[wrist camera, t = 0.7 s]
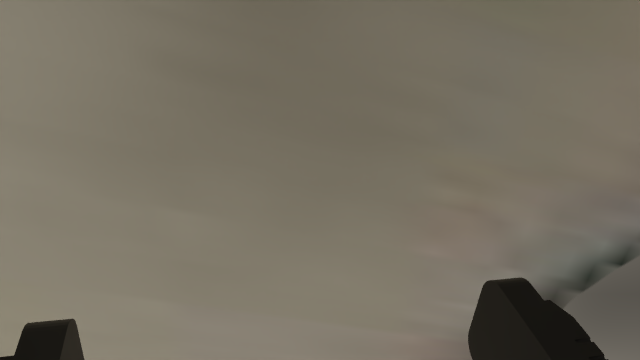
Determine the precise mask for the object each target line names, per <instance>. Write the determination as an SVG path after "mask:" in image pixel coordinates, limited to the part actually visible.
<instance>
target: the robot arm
mask: <svg viewBox="0 0 640 360" xmlns="http://www.w3.org/2000/svg"><path fill="white" fill-rule="evenodd" d="M468 343H469V349H470V353H471V357H472V359H473V360H606V359H605V358H604V354H603V353H602V352H601V350H600V349H599V348H598V347H597V345H596V344H595V343H594V342H591V341H590V337H589V336H588V334H587V333H586V332H585V331H584V330H583V328H582V327H581V326H580V325H579V323H578V322H577V321H576V320H575V319H574V317H572V316H571V315H570V314H568V313H567V312H566V311H564V310H563V309H561V308H560V307H559V306H557V305H556V304H555V303H553V302H552V301H550V300H546V301H544V300H543V299H542V298H541V296H540V295H539V294H538V293H537V291H536V290H535V289H534V287H533V286H532V285H531V284H530V283H529V281H527V280H526V279H524V278H511V279H501V280H490V281H487V282H486V283H485V284H484V285H483V288H482V291H481V294H480V297H479V300H478V304H477V307H476V310H475V313H474V316H473V320H472V323H471V326H470V329H469V334H468ZM0 360H84V356H83V352H82V347H81V343H80V338H79V334H78V329H77V325H76V322H75V320H74V319H65V320H55V321H44V322H34V323H27V324H26V325H25V327H24V328H23V331H22V334H21V337H20V340H19V343H18V346H17V349H16V352H15V355H14V356H7V357H0ZM607 360H608V359H607Z"/></svg>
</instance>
